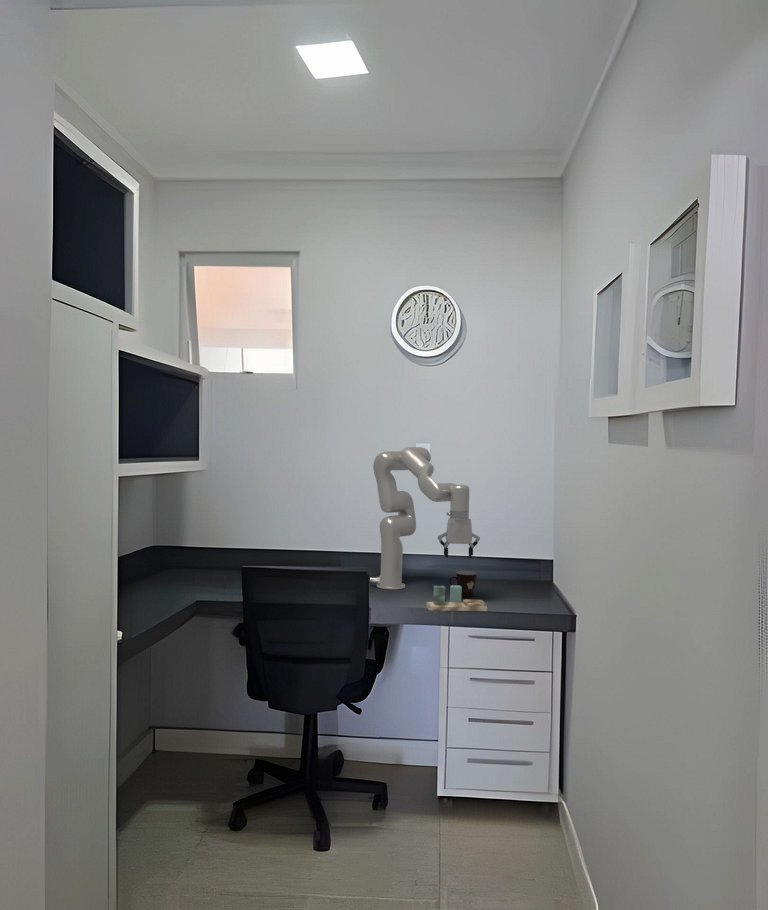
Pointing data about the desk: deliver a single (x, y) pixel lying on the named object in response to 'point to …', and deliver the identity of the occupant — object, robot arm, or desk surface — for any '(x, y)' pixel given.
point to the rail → (441, 603)
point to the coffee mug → (466, 582)
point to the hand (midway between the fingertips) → (458, 557)
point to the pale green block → (455, 593)
